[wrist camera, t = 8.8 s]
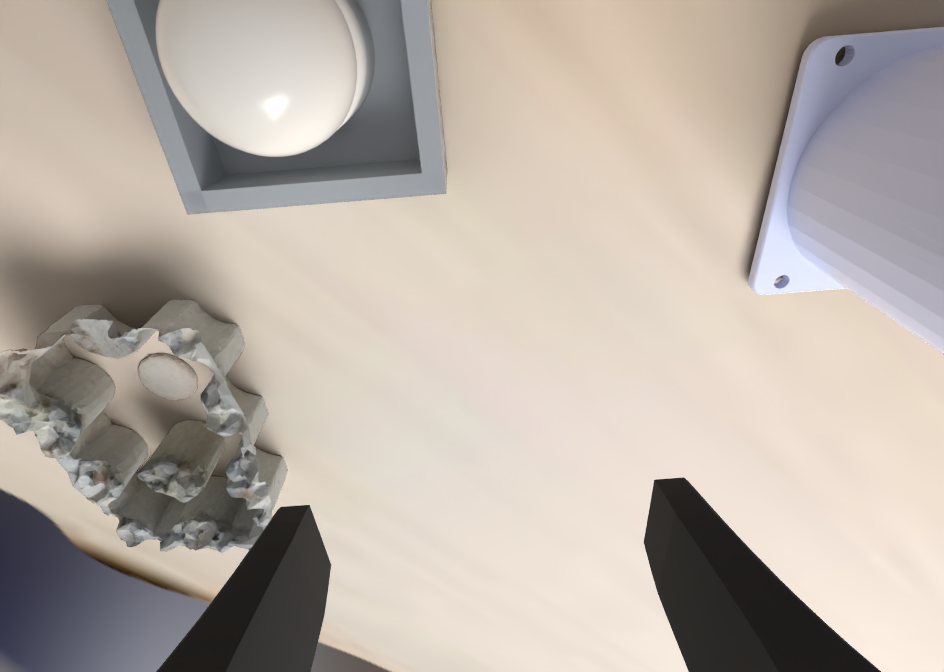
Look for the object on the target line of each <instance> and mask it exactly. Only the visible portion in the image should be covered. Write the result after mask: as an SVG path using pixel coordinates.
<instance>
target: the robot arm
mask: <svg viewBox="0 0 944 672" xmlns="http://www.w3.org/2000/svg"><path fill="white" fill-rule="evenodd" d="M842 47H844V48H845V56H844V58H843V60H842V61H841V62H840V63H839V64H837V65H836V63H835V56H836V54H837V52H838V51H839V50H840V49H841V48H842ZM782 275H783V278H782V280H781V281H779V282H778V283H775V284H774V282H775V280H776V279H777V278H778V277H779V276H782ZM748 285H749V287H750V288H751V289H752V290H753V291H754V292H755V293H757V294H759V295H769V294H782V293H795V292H808V291H821V290H834V289H848V290H850V291H851V292H853V293H854V294H855V295H857V296H858V297H860V298H861V299H863V300H864V301H866V302H867V303H869V304H870V305H872V306H873V307H875V308H876V309H877V310H879V311H880V312H882V313H883V314H885V315H886V316H888V317H889V318H891V319H892V320H894V321H895V322H897V323H898V324H899V325H901V326H902V327H904V328H905V329H907V330H908V331H910V332H911V333H913V334H914V335H916V336H917V337H919V338H920V339H921V340H923V341H924V342H926V343H927V344H929V345H930V346H932V347H933V348H935V349H936V350H938V351H939V352H941V353H942V354H943V355H944V27H933V28H921V29H909V30H897V31H885V32H873V33H861V34H849V35H837V36H825V37H821V38H818V39H816V40H815V41H813V42H812V43H810V45H809V46H808V47H807V48H806V50H805V51H804V54H803V56H802V59H801V63H800V67H799V71H798V75H797V80H796V84H795V88H794V92H793V96H792V100H791V105H790V109H789V113H788V117H787V121H786V125H785V130H784V134H783V138H782V142H781V146H780V150H779V155H778V159H777V163H776V167H775V171H774V175H773V180H772V184H771V188H770V192H769V196H768V200H767V205H766V209H765V213H764V217H763V221H762V225H761V230H760V234H759V238H758V242H757V246H756V250H755V255H754V259H753V263H752V267H751V271H750V275H749V280H748ZM644 545H645V549H646V552H647V556H648V560H649V564H650V567H651V571H652V574H653V578H654V581H655V585H656V588H657V592H658V595H659V597H660V600H661V602H662V605H663V608H664V610H665V613H666V615H667V618H668V620H669V623H670V625H671V628H672V631H673V633H674V636H675V638H676V641H677V643H678V646H679V648H680V651H681V653H682V656H683V658H684V661H685V663H686V666H687V668H688V671H689V672H881V671H880V670H878V669H877V668H876V667H875V666H874V665H873V664H871V663H870V662H869V661H868V660H867V659H866V658H864V657H863V656H862V655H861V654H860V653H858V652H857V651H856V650H855V649H854V648H853V647H852V646H850V645H849V644H848V643H847V642H846V641H845V640H844V639H843V638H841V637H840V636H839V635H838V634H837V633H836V632H835V631H834V630H833V629H832V628H830V627H829V626H828V625H827V624H826V623H825V622H824V621H823V620H822V619H821V618H820V617H819V616H817V615H816V614H815V613H814V612H813V611H812V610H811V609H810V608H809V607H808V606H807V605H806V604H805V603H804V602H803V601H801V600H800V599H799V598H798V597H797V596H796V595H795V594H794V593H793V592H792V591H791V590H790V589H789V588H788V587H787V586H786V585H785V584H784V583H783V582H782V581H781V580H780V579H779V578H778V577H777V576H776V575H775V574H774V573H773V572H772V571H771V570H770V569H769V568H768V567H767V566H766V565H765V564H764V563H763V562H762V561H761V560H760V559H759V558H758V557H757V556H756V555H755V554H754V553H753V552H752V551H751V550H750V548H749V547H748V546H747V545H746V544H745V543H744V542H743V541H742V540H741V539H740V538H739V537H738V536H737V535H736V534H735V533H734V531H733V530H732V529H731V528H730V527H729V526H728V525H727V524H726V523H725V522H724V521H723V520H722V518H721V517H720V516H719V515H718V514H717V513H716V512H715V511H714V510H713V508H712V507H711V506H710V505H709V504H708V503H707V502H706V501H705V499H704V498H703V497H702V496H701V495H700V494H699V493H698V492H697V490H696V489H695V488H694V487H693V486H692V485H691V484H690V483H689V481H687V480H686V479H685V478H673V479H659V480H654V486H653V492H652V498H651V503H650V509H649V515H648V521H647V527H646V533H645V538H644ZM330 569H331V563H330V561H329V558H328V555H327V552H326V549H325V547H324V544H323V541H322V538H321V536H320V533H319V530H318V527H317V525H316V522H315V519H314V516H313V513H312V511H311V508H310V505H303V506H289V507H280V508H279V509H278V510H277V512H276V513H275V515H274V516H273V517H272V519H271V520H270V522H269V523H268V525H267V526H266V527H265V529H264V530H263V532H262V533H261V535H260V536H259V538H258V539H257V540H256V542H255V543H254V545H253V546H252V548H251V549H250V550H249V552H248V553H247V555H246V556H245V557H244V559H243V560H242V562H241V563H240V565H239V566H238V567H237V569H236V570H235V572H234V573H233V574H232V576H231V577H230V578H229V580H228V581H227V582H226V584H225V585H224V586H223V588H222V589H221V590H220V592H219V593H218V594H217V596H216V597H215V598H214V600H213V601H212V603H211V604H210V605H209V607H208V608H207V609H206V611H205V612H204V613H203V615H202V616H201V617H200V619H199V620H198V621H197V622H196V623H195V625H194V626H193V627H192V629H191V630H190V631H189V632H188V633H187V635H186V636H185V637H184V638H183V640H182V641H181V642H180V643H179V645H178V646H177V647H176V648H175V650H174V651H173V652H172V653H171V655H170V656H169V657H168V658H167V659H166V661H165V662H164V663H163V664H162V666H161V667H160V668H159V669H158V670H157V672H310V671H311V667H312V663H313V659H314V655H315V651H316V647H317V643H318V639H319V635H320V631H321V627H322V622H323V618H324V613H325V606H326V599H327V592H328V585H329V577H330Z"/></svg>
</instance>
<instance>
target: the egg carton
mask: <svg viewBox="0 0 944 672" xmlns="http://www.w3.org/2000/svg"><path fill="white" fill-rule="evenodd" d="M156 330H157V331H159V338H158V341H161V342H163V343H165V344H167V345H168V346H169V347H170V349H171V350H172V352H173V354H175V355H176V356H177V357H184V358H188V359H190V360H192V361H197V362H201V363H204V364H205V365H206V366H208V367H209V368H210V369H211V370H212V371H213V372H214V376H213V378H212V380H211V381H210V383H209V384H208V385H207V387H206V388H205V390H204V391H203V392H202V394H201V402H202V405H203V408H204V410H205V412H206V415H207V421H206V423H204V422H201V421H195V420H186V421H181V422H179V423H176V424H175V425H174V426H173V427H172V428H171V430H170V431H169V433H168V434H167V435H166V437H165V438H164V439H163V441H162V442H161V444H160V445H159V446H158V448H157V449H156V451H155V452H154V453H153V455H152V456H151V457H150V459H149V460H148V462H147V463H146V464H145V465H144V466H143V467H142V468H141V469H140V470H139V471H138V472H137V473H136V471H137V469H138V468H139V466H140V465H141V463H142V462H143V460H144V459H145V457H146V456H147V454H148V447H147V444H146V442H145V441H144V439H143V438H142V437H141V436H139V435H138V434H137V433H136V432H134V431H133V430H131V429H128V428H125V427H122V426H118V425H114V424H113V423H112V422H111V420H110V419H109V418H108V417H107V415H106V414H105V413H104V412H103V410H104V408H105V407H106V406H107V405H108V403H109V402H110V401H111V399H112V398H113V396H114V394H115V389H116V387H115V384H114V382H113V380H112V379H111V377H110V376H109V375H108V374H107V373H106V372H105V371H104V370H103V369H102V368H100V367H99V366H97V365H96V364H93V363H90V362H88V361H85V360H82V359H76V358H73V357H72V355H71V354H70V352H69V350H68V349H67V347H66V345H65V343H64V340H63V338H64V337H65V336H66V335H71V336H72V337H73V339H74V341H75V343H77V344H78V345H79V346H81V347H82V348H84V349H85V350H86V351H89V352H92V353H96V354H99V355H102V356H105V357H109V358H116V359H120V358H124V357H127V356H129V355H131V354H133V353H135V352H137V351H138V350H139V349H140V348H141V347H142V346H143V345H144V343H145V342H146V341H147V340H148V339H149V338H150V337H151V336H152V335H153V334H154V332H155V331H156ZM244 348H245V342H244V338H243V335H242V333H241V330H240V328H239V326H238V325H236V324H228V323H223V322H221V321H218V320H216V319H214V318H212V317H211V316H209V315H208V314H207V313H206V312H205V311H204V310H203V309H202V308H201V307H200V306H199V304H198V303H197V302H196V301H193V300H170V301H168V302H167V303H166V304H165V305H164V306H163V307H162V308H161V309H160V310H159V311H158V312H157V313H156V314H155V315H154V316H153V317H152V318H151V319H150V320H149V321H148V322H147V323H146V324H145V325H144V326H143V327H142V328H133V327H130V326H128V325H125V324H123V323H121V322H120V321H118V320H117V319H116V318H114V317H113V316H112V315H111V314H110V312H109V311H108V310H107V309H106V308H105V307H104V306H103V305H78V306H76V307H74V308H73V309H72V310H70V311H69V312H68V313H67V314H66V315H64V316H63V317H62V318H61V319H59V320H58V321H56V322H55V323H53V324H52V325H51V326H50V327H49V328H48V329H47V330H46V331H45V332H43V333H42V334H41V335H40V336H38V338H37V344H36V347H35V349H34V350H29V351H27V349H20V350H15V351H14V350H10V349H9V350H6V351H4V352H1V353H0V419H1V420H3V421H4V422H5V423H6V424H7V425H9V426H11V427H12V428H14V430H15V432H16V434H21V433H24V432H27V431H34V433H35V435H36V438H37V439H38V441H39V443H40V447H41V451H42V452H43V454H44V455H45V456H46V457H49V458H55V459H56V460H57V461H58V462H59V464H60V465H61V466H62V467H63V468H64V469H65V470H66V471H67V472H68V475H69V478H70V480H71V483H72V486H73V487H74V488H75V489H77V490H78V491H79V492H80V493H81V494H83V495H84V496H85V497H86V498H87V499H88V500H89V501H91V502H92V503H94V504H96V505H98V506H100V507H101V509H102V511H103V512H104V513H105V514H106V515H108V516H116V517H118V518H119V524H118V527H117V531H116V532H117V534H118V536H119V537H120V539H121V540H123V541H126V544H127V547H133V546H137V545H138V544H140V543H141V542H142V541H144V540H147V539H158V540H160V541H161V542H160V551H169V550H171V549H173V548H175V547H177V546H180V545H181V546H186V547H187V548H189V549H190V550H191V549H194V550H199V549H204V548H210V549H213V550H217V551H219V552H221V553H223V552H224V551H226V550H227V549H229V548H231V547H233V546H237V547H240V548H245V549H249V550H250V549H251V548H252V546H253V545H254V543H255V542H256V540H257V539H258V538H259V536H260V535H261V533H262V532H263V530H264V529H265V527H266V526H267V525H268V523H269V522H270V520H271V519H272V518H271V514H272V510H273V508H274V506H275V504H276V502H277V499H278V496H279V493H280V490H281V488H282V486H283V483H284V481H285V477H286V474H287V471H288V469H287V466H286V463H285V461H284V458H283V457H281V456H276V455H271V454H268V453H265V452H263V451H261V450H259V449H258V448H256V447H255V446H254V444H255V442H256V439H257V437H258V435H259V433H260V430H261V429H262V427H263V424H264V422H265V420H266V418H267V417H268V414H269V413H268V410H267V407H266V404H265V401H264V399H263V397H262V396H258V395H254V394H249V393H246V392H244V391H241V390H239V389H238V388H236V387H235V386H234V385H232V383H231V382H230V381H229V380H228V379H227V377H226V375H227V373H228V372H229V371H230V369H231V368H232V366H233V364H234V363H235V361H236V360H237V359H238V358H239V356H240V354H241V353H242V351H243V350H244ZM177 357H175V356H173V355H169V354H160V353H157V354H152V355H149V356H148V357H146V358H145V359H143V360H142V361H141V362H140V365H139V367H138V373H139V379H140V380H141V382H142V384H143V385H144V386H145V387H146V388H147V389H148V390H150V391H151V392H152V393H154V394H155V395H158V396H160V397H162V398H165V399H168V400H177V401H178V400H183V399H187V398H188V397H190V396H192V395H193V394H194V393H195V391H196V389H197V388H198V378H197V375H196V373H195V371H194V370H193V369H192V368H191V367H190V365H188V364H187V363H186V362H184V361H183V360H181V359H179V358H177ZM233 434H240V435H242V437H243V440H242V441H241V443H240V446H239V448H238V450H237V452H236V454H235V456H234V458H233V459H232V460H231V462H230V463H229V465H228V466H227V470H226V474H227V478H225V477H220V476H211V474H212V472H213V470H214V469H215V467H216V465H217V463H218V461H219V459H220V457H221V455H222V453H223V451H224V449H225V440H224V438H223V436H224V437H227V436H230V435H233Z"/></svg>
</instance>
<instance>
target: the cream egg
mask: <svg viewBox="0 0 944 672" xmlns="http://www.w3.org/2000/svg"><path fill="white" fill-rule="evenodd" d="M155 30H156V44H157V50H158V56H159V59H160V63H161V66H162V70H163V72H164V75H165V77H166V79H167V82H168V84H169V86H170V88H171V89H172V91H173V93H174V95H175V96H176V98H177V99H178V101H179V102H180V104H181V105H182V107H183V108H184V109H185V110H186V111H187V113H188V114H189V115H190V116H191V117H192V118H193V119H194V120H195V121H196V122H197V123H198V124H199V125H200V126H201V127H202V128H203V129H204V130H206V131H207V132H208V133H209V134H211V135H212V136H214V137H215V138H217V139H218V140H220V141H221V142H223V143H225V144H227V145H229V146H231V147H233V148H236V149H239V150H241V151H244V152H247V153H251V154H255V155H259V156H267V157H284V156H291V155H297V154H300V153H303V152H306V151H308V150H310V149H313V148H315V147H317V146H318V145H320V144H321V143H323V142H324V141H326V140H327V139H328V138H329V137H331V136H332V135H333V134H334V133H335V132H336V131H337V130H338V129H339V128H340V127H341V126H342V125H343V124H345V123H346V122H347V121H348V120H349V119H350V118H351V117H352V116H353V115H354V114H355V113H356V112H357V111H358V110H359V109H360V107H361V106H362V105H363V103H364V101H365V100H366V98H367V96H368V93H369V91H370V89H371V85H372V81H373V77H374V70H375V51H374V43H373V39H372V34H371V31H370V28H369V25H368V22H367V20H366V18H365V16H364V13H363V12H362V10H361V8H360V6H359V5H358V3H357V2H356V0H160V1H159V5H158V10H157V14H156V27H155Z"/></svg>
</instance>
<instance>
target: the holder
mask: <svg viewBox="0 0 944 672" xmlns="http://www.w3.org/2000/svg"><path fill="white" fill-rule="evenodd" d="M106 1H107V3H108V6H109V9H110V11H111V14H112V16H113V19H114V22H115V24H116V27H117V30H118V32H119V35H120V38H121V40H122V43H123V46H124V48H125V51H126V53H127V56H128V59H129V61H130V64H131V67H132V69H133V72H134V75H135V77H136V80H137V82H138V85H139V88H140V90H141V93H142V96H143V98H144V101H145V104H146V106H147V109H148V112H149V114H150V117H151V119H152V122H153V125H154V127H155V130H156V133H157V135H158V138H159V141H160V143H161V146H162V148H163V151H164V154H165V156H166V159H167V162H168V164H169V167H170V170H171V172H172V175H173V178H174V180H175V183H176V185H177V188H178V191H179V193H180V196H181V199H182V201H183V204H184V207H185V209H186V212H187V214H200V213H212V212H225V211H237V210H250V209H262V208H275V207H287V206H300V205H312V204H324V203H337V202H349V201H362V200H374V199H387V198H399V197H412V196H424V195H436V194H446V187H447V163H446V153H445V142H444V132H443V121H442V111H441V101H440V90H439V80H438V69H437V59H436V48H435V38H434V27H433V17H432V6H431V0H356V2H357V3H358V5H359V6H360V8H361V10H362V12H363V13H364V16H365V18H366V20H367V22H368V25H369V28H370V31H371V34H372V39H373V43H374V51H375V70H374V77H373V81H372V85H371V89H370V91H369V93H368V96H367V98H366V100H365V101H364V103H363V105H362V106H361V107H360V109H359V110H358V111H357V112H356V113H355V114H354V115H353V116H352V117H351V118H350V119H349V120H348V121H347V122H346V123H345V124H343V125H342V126H341V127H340V128H339V129H338V130H337V131H336V132H335V133H334V134H333V135H332V136H331V137H329V138H328V139H327V140H326V141H324V142H323V143H321V144H320V145H318V146H317V147H315V148H313V149H310V150H308V151H306V152H303V153H300V154H297V155H291V156H284V157H267V156H259V155H255V154H251V153H247V152H244V151H241V150H239V149H236V148H233V147H231V146H229V145H227V144H225V143H223V142H221V141H220V140H218V139H217V138H215V137H214V136H212V135H211V134H209V133H208V132H207V131H206V130H204V129H203V128H202V127H201V126H200V125H199V124H198V123H197V122H196V121H195V120H194V119H193V118H192V117H191V116H190V115H189V114H188V113H187V111H186V110H185V109H184V108H183V107H182V105H181V104H180V102H179V101H178V99H177V98H176V96H175V95H174V93H173V91H172V89H171V88H170V86H169V84H168V82H167V79H166V77H165V75H164V72H163V70H162V66H161V63H160V59H159V56H158V50H157V44H156V30H155V27H156V14H157V10H158V5H159V1H160V0H106Z"/></svg>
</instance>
